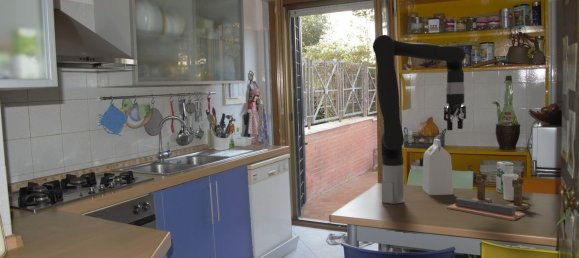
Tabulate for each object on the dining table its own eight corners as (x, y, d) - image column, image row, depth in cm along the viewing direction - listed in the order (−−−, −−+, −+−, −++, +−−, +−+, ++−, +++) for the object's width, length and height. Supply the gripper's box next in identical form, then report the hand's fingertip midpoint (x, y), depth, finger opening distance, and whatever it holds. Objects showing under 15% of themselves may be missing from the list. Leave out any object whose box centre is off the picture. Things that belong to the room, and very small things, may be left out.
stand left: (483, 204, 208) (483, 176, 207) (470, 202, 212) (470, 175, 211) (491, 201, 212) (491, 174, 211) (478, 199, 217) (478, 172, 216)
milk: (453, 194, 228) (453, 140, 226) (429, 195, 228) (428, 141, 226) (445, 189, 240) (445, 137, 238) (422, 189, 240) (422, 138, 238)
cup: (502, 200, 214) (502, 176, 213) (501, 197, 220) (502, 173, 219) (518, 201, 211) (518, 176, 210) (517, 197, 217) (517, 174, 216)
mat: (513, 220, 182) (513, 218, 182) (446, 208, 203) (446, 206, 203) (524, 215, 188) (524, 213, 188) (459, 204, 209) (459, 202, 209)
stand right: (521, 210, 196) (521, 181, 195) (506, 208, 200) (506, 179, 199) (528, 207, 200) (528, 178, 199) (514, 205, 205) (514, 177, 204)
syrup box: (495, 191, 232) (495, 161, 231) (507, 190, 232) (507, 161, 231) (501, 193, 226) (502, 163, 225) (513, 193, 227) (514, 162, 225)
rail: (511, 215, 186) (512, 208, 185) (455, 205, 204) (455, 198, 203) (515, 214, 187) (515, 206, 187) (459, 204, 206) (459, 197, 205)
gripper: (456, 92, 217) (455, 128, 218) (438, 93, 208) (438, 130, 209) (471, 92, 211) (471, 128, 213) (454, 93, 202) (454, 131, 204)
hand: (455, 129), depth 211 cm, fingers open, 8 cm apart
